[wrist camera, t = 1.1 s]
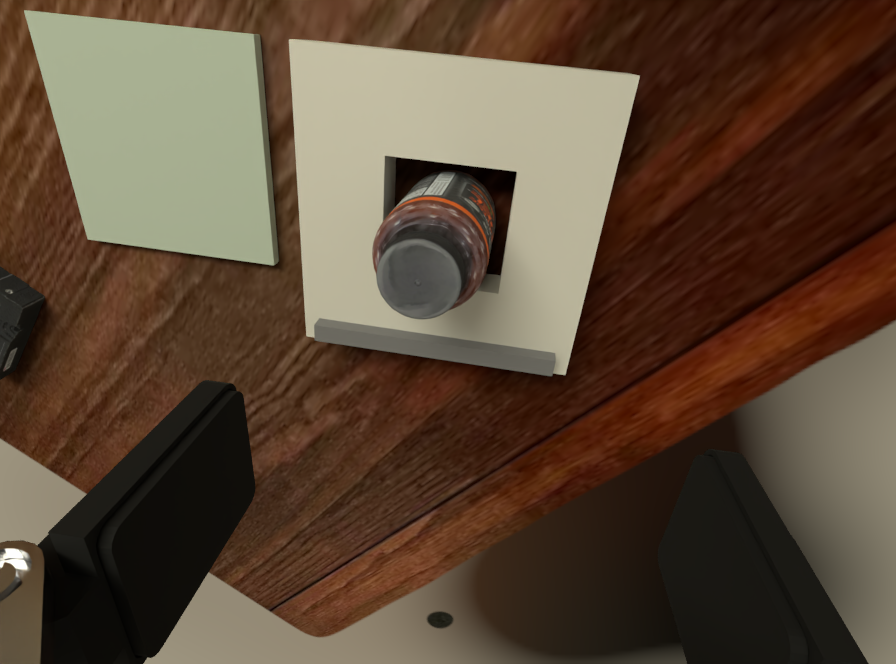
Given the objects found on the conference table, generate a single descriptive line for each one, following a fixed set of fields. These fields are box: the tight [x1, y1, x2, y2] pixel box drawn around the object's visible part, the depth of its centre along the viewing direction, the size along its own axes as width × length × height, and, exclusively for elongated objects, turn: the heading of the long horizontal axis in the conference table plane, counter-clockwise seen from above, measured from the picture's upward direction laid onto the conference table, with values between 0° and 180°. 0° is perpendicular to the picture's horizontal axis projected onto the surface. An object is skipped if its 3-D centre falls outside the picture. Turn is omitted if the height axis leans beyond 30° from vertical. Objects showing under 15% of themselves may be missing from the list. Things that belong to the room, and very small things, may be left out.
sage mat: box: [24, 10, 279, 265], centre depth 33 cm, size 14×14×1 cm
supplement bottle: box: [372, 170, 496, 319], centre depth 28 cm, size 6×6×11 cm
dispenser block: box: [289, 39, 640, 376], centre depth 31 cm, size 18×18×4 cm
